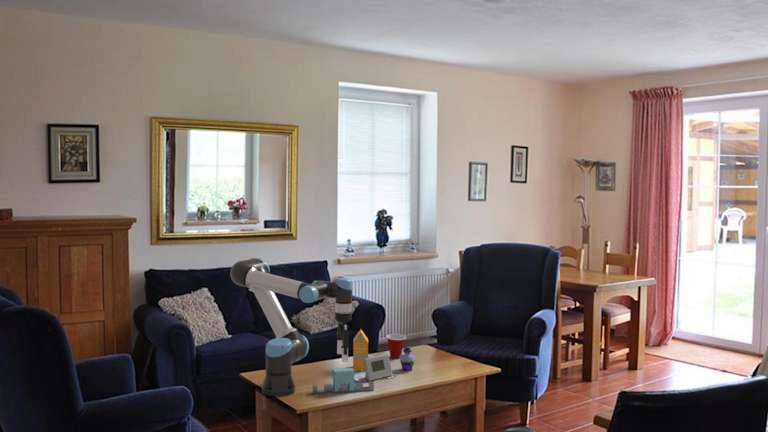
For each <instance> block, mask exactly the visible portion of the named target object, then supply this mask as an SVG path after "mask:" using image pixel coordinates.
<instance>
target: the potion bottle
mask: <svg viewBox="0 0 768 432" xmlns="http://www.w3.org/2000/svg"><path fill="white" fill-rule="evenodd" d="M402 353H404V354H401V355H400V356H399V357H400V358H399V363H400V366H401V371H403V372H411V371H413V366H414V365H415V360H416V355H413V354H411V353H412V348H411V346H409V345H408V346H403V350H402Z"/></svg>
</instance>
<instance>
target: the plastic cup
mask: <svg viewBox="0 0 768 432" xmlns="http://www.w3.org/2000/svg"><path fill="white" fill-rule="evenodd" d="M386 339H387V342H388V343H387V344H388V349H389V356H390V357H389V358H391V359H393V360H394V359H400V357H399V356H400V355H403V354H402V353H403V349H404V343H405V340H406V339H407V336H406V335H403V334H399V333H390V334H387V335H386Z"/></svg>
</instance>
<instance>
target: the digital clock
mask: <svg viewBox="0 0 768 432" xmlns="http://www.w3.org/2000/svg"><path fill="white" fill-rule="evenodd" d="M389 356H390V355H389V354H388V353H384V354H377V355H373V356H368V358H365V359H364V360H363V361H364V366H365V371H364V372H365V378H366V377H367V378H366V380H367V381H368V382H369V381H376V380H375V379H377V380H380V379H379V378H381V379H384V378H383V377H386V378H388V377H391V376H392V375H393V370H392V366H391V361H390V360H391V359H390V357H389ZM387 376H388V377H387Z"/></svg>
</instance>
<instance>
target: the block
mask: <svg viewBox="0 0 768 432" xmlns="http://www.w3.org/2000/svg"><path fill="white" fill-rule="evenodd" d="M354 382H355V371H354V370H353V367H349V368H348V367H345V368H333V369H332V385H333V389H334V391H339V383H347V384H348V389H349V390H354Z"/></svg>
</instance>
